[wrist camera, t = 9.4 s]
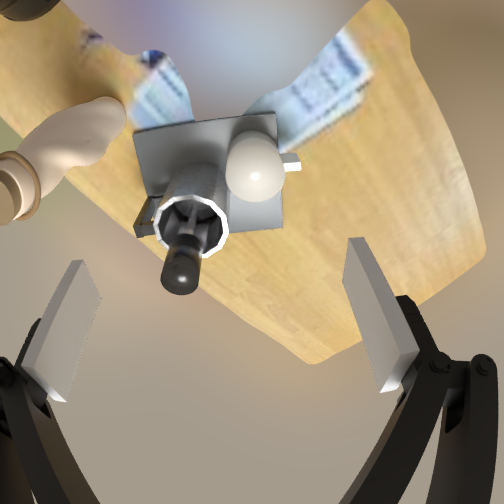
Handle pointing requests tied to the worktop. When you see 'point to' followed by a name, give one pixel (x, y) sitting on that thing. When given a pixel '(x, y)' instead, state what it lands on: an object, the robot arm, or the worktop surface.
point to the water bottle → (56, 153)
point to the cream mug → (257, 166)
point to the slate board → (211, 151)
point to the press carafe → (184, 188)
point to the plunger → (185, 251)
